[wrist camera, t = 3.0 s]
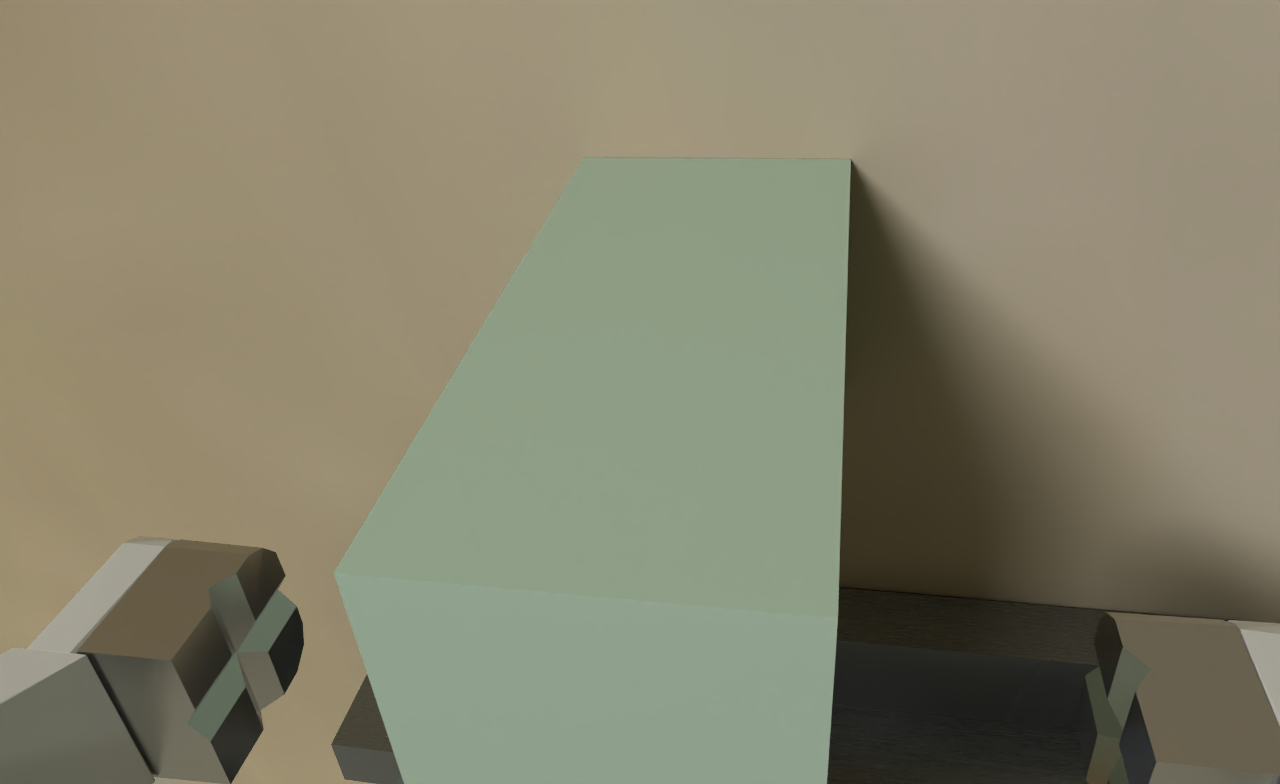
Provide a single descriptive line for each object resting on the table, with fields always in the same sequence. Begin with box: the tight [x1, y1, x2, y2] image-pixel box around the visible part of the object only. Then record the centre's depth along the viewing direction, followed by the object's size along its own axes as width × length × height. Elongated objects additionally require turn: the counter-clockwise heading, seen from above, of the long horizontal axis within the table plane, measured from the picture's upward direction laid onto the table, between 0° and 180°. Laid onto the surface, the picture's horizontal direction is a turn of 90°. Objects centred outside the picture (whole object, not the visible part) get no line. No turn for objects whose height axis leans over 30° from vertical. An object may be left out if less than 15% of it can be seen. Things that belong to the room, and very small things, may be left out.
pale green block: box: [334, 158, 851, 784], centre depth 11 cm, size 4×4×8 cm
